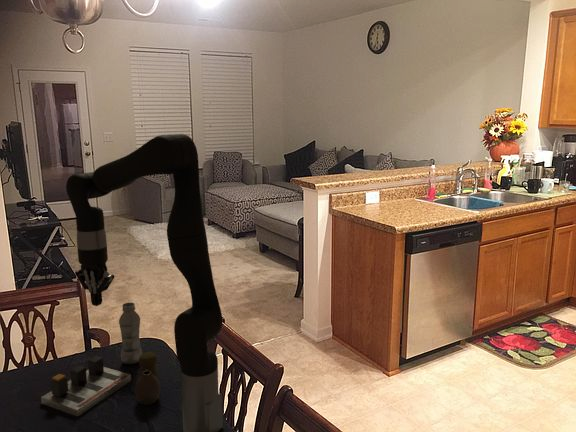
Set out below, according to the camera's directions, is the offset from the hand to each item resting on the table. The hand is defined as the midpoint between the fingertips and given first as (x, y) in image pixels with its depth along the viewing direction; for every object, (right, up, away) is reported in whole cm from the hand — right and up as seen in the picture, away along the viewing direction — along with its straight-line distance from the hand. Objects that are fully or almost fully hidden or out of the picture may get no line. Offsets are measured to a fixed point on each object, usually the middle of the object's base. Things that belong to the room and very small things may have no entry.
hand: (96, 304), depth 135 cm
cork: (+13, -26, +7) cm, 30 cm away
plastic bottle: (+3, -23, +23) cm, 32 cm away
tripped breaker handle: (-11, -25, 0) cm, 27 cm away
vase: (+14, -28, +1) cm, 31 cm away
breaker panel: (-5, -26, +5) cm, 27 cm away
